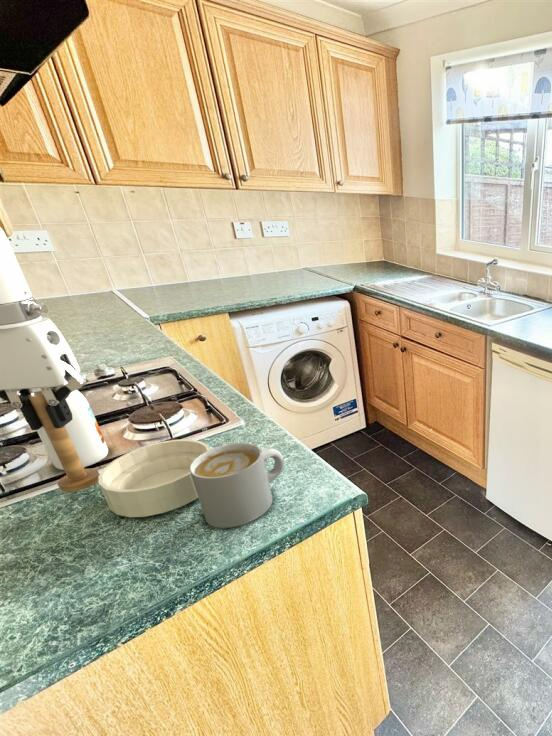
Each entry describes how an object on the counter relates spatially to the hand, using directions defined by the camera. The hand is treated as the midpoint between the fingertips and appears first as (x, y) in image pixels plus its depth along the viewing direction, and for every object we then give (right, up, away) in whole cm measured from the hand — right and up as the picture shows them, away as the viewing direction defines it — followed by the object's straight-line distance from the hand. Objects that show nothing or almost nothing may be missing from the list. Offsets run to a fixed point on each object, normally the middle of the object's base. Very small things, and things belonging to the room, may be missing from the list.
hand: (52, 424), depth 67 cm
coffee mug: (+28, -15, +7) cm, 32 cm away
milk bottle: (-10, -9, +15) cm, 20 cm away
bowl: (+12, -13, +8) cm, 19 cm away
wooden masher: (-1, -11, +5) cm, 12 cm away
